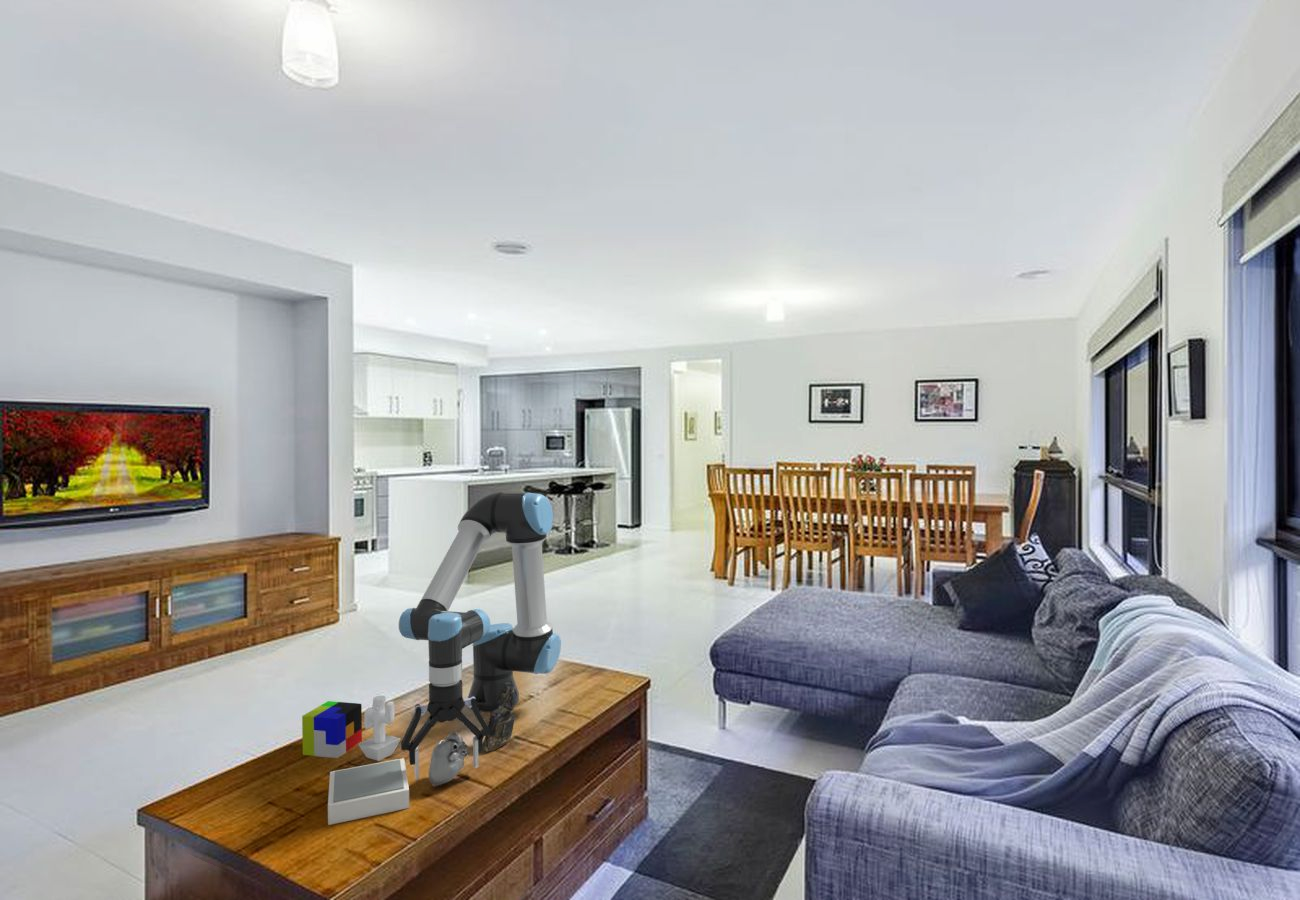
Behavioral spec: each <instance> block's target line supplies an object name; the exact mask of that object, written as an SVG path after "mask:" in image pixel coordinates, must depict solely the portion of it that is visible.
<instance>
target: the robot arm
mask: <svg viewBox="0 0 1300 900" xmlns="http://www.w3.org/2000/svg"><path fill="white" fill-rule="evenodd" d="M553 514H554V513H553V508H552V505H551V502H550V500H549V499H548V498H547V497H546V496H545V495H543V494H541V493H532V492H502V491H501V492H493V493H490V494H487V495H485V496H483V497H481V498H480V499H479V500H477V501H476V502H474V503H473V505H471V506H470V508H468V510H467V511H466V512H465V513H464V515H463V516H462V518H461V520H459V523H458V525H457V531H458V532H457V534H456V535H455V538H454V539H453V541H452V542H451V544H450V546H449V549H448V550H447V552H446V553H445V556H444V558H443V559H442V561H441V563H440V564H439V566H438V568H437V570H436V571H435V574H434V576H433V578H432V579H431V580H430V583H429V585H428V586H427V588H426V590H425V591H424V594H423V596H422V597H421V599H420V600H419V602H418V604H417V605H416V607H412V608H410V607H409V608H406V609H405V610H404V611H403V612H402V613H401V615H400V617H399V620H398V631H399V633H400V634H401V637H403V638H406V639H409V640H410V639H411V640H415V641H428V642H427V643H428V682H429V684H428V704H427V705H420V704H419V703H417V704H415V706H414V713H413V716H412V717H411V720H410V723H409V724H408V727H407V729H406V731H405V733H404V736H403V737H402V738H401V739H402V740H401V741H400V747H401V749H400V750H402V751H408V753H409V754H408V760H409V764H410V766H412V765H414V767H413V768H414V778H415V779H414V780H415V781H417V780H420V756H419V754H420V753H419V752H420V751H419V745H420V744H421V743H422V741H423V740H424V739H425V738H426V736H427V735H428V733H429V732H430V731H431V729H433V727H434V726H435V725H436V724H437V723H439V724H443V723H445V722H453V721H455V720H456V719H457V720H458V721H459V722H460V723H462V724H463V725H464V727H466V728H467V729H468V730H469V732H470V733H472V734H473V737H472V744H473V745H472V750H473V751H472V752H473V753H472V756H473V761H472V763H473V766H474V768H475V769H478V768H479V753H482V752H483V750H484V747H483V741H484V738H485V736H486V735H489V734H490V730H489V728H488V723H487V722H486V720H485V719H484V717H483V715H482V713H481V712H486V713H487V712H489V713H491V712H492V711H493V710H495V709H497V708H498V707H499V706H496V702H497V699H498V697H499V694H500V692H501V690H503V687H504V684H505V683H506V682H508V683H513V684H514V687H515V689H514V693H515V704H514V706H517V704H518V703H519V701H520V692H519V690H518V686H517V684H516V680H515V677H514V674H513V673H514V672H519V673H526V674H527V673H529V674H534V675H538V674H540V675H541V674H542V675H543V674H544V675H546V674H549V673H551V672H552V671H553V670H554V669H555V667H556V666H557V663H558V661H559V658H560V654H561V648H562V639H561V636H560V635H559V634H557V633H556V632H555V633H553V632H554V631H553V625H552V623H551V622H549V621H548V620H547V606H546V605H547V603H546V593H545V592H546V591H545V590H546V588H545V571H544V559H543V542H544V541H545V540H546V539H547V535H548V534H549V533H550V532H551V531H552V529H553V523H554V515H553ZM496 533H502V534H505V542H506V543H508V544H509V545H510V546H511V551H512V553H511V554H512V565H513V566H512V567H513V579H514V581H513V582H514V595H515V596H514V597H515V608H516V609H515V610H516V620H517V624H516V625H514V626H513V625H512V624H511V623H509V622H502V623H501V622H500V623H494V624H491V619H490V617H489V615H488V613H487V612H485V611H484V610H482V609H480V608H476V609H474V608H473V609H470V610H467V611H465V612H462V611H452V610H451V611H449V610H450V608H451V606H452V604H453V602H454V600H455V598H456V597H457V594H458V592H459V590H460V589H461V586H462V585H463V583H464V581H465V578H466V577H467V576H468V573H469V570H470V569H471V568H472V565H473V563H474V561H475V559H476V558H477V556H478V554H479V552H480V549H481V548H482V546H483V544H485V543H487V542H488V541H489V540H490V539H491V536H492V535H494V534H496ZM471 645H472V650H473V651H472V653H473V654H472V655H473V656H472V658H473V659H472V660H473V661H472V662H473V663H472V664H473V679H472V683H471V686H470V690H469V692H468V696H467V698H465V699H464V697H463V680H462V679H463V658H462V657H463V649H464V648H467V647H468V646H471ZM465 706H467V708H468V709H471V710H472V712H473V714H474V716H475V718H476V720H477V721H478V723H479V725H480V727H481V730H480V728H478V727H477V725H475V724H474V722H472V721H471V720H470V719H469V718H468V717H467V716H466V715H465V714H464V713H463V708H464V707H465ZM426 712H427V713H428V714H429V716H428V717H427V719H426V721H425V722H424V724H423V725H422V726H421V727H420V729H419V731H417V733H416V734H415V731H416V729H417V727H418V725H419V722H420V720H421V717H422V716H424V715H425V713H426ZM414 734H415V736H414ZM413 736H414V737H413Z"/></svg>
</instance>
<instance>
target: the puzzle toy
mask: <svg viewBox="0 0 1300 900" xmlns="http://www.w3.org/2000/svg"><path fill="white" fill-rule="evenodd" d="M362 706H363V705H362V703H356V702H343V701H334V700H332V701H331V700H328V701H326V702H323V703H322V704H321V705H318V706H317V707H315V708H314V709H312V710H310V711H309V712H306V713H305V714H303V715H302V716H301V722H302V724H301V725H302V726H301V727H302V728H301V730H302V732H301V733H302V755H303V756H311V757H312V756H313V757H323V758H331V759H333V758H334V759H338V758H340V757H341V756H343V755H345V754H346V753H347V752H348V751H350V750H351V749H353V748H354V747H355V746H357V745H358V744H359V743H361V742H363V728H362V727H363V725H362V724H363V719H362V717H363V716H362V715H363V713H362Z"/></svg>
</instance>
